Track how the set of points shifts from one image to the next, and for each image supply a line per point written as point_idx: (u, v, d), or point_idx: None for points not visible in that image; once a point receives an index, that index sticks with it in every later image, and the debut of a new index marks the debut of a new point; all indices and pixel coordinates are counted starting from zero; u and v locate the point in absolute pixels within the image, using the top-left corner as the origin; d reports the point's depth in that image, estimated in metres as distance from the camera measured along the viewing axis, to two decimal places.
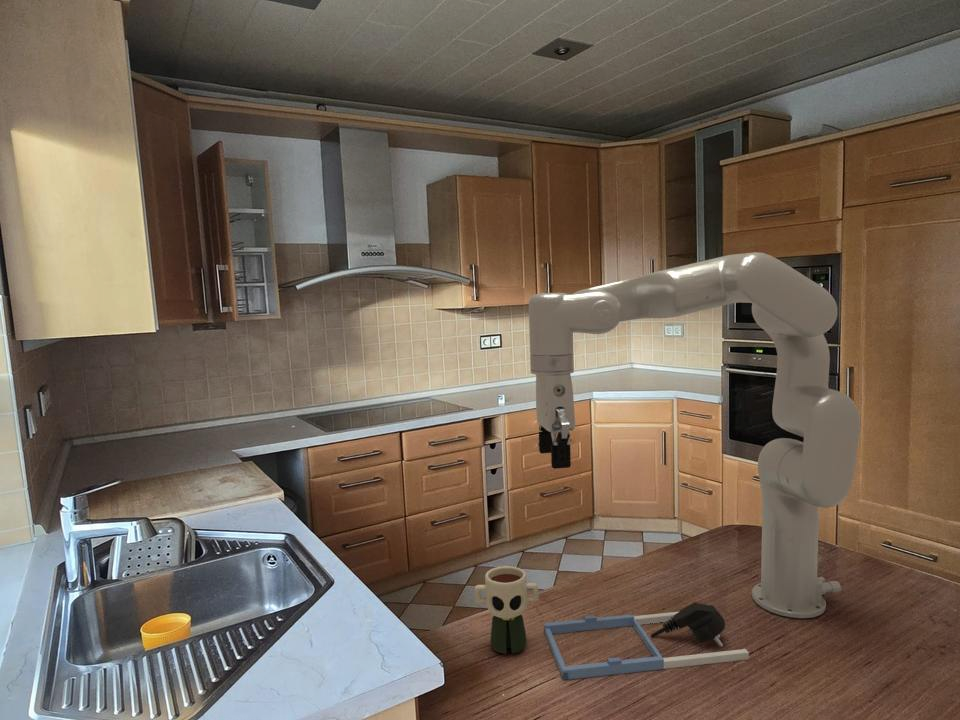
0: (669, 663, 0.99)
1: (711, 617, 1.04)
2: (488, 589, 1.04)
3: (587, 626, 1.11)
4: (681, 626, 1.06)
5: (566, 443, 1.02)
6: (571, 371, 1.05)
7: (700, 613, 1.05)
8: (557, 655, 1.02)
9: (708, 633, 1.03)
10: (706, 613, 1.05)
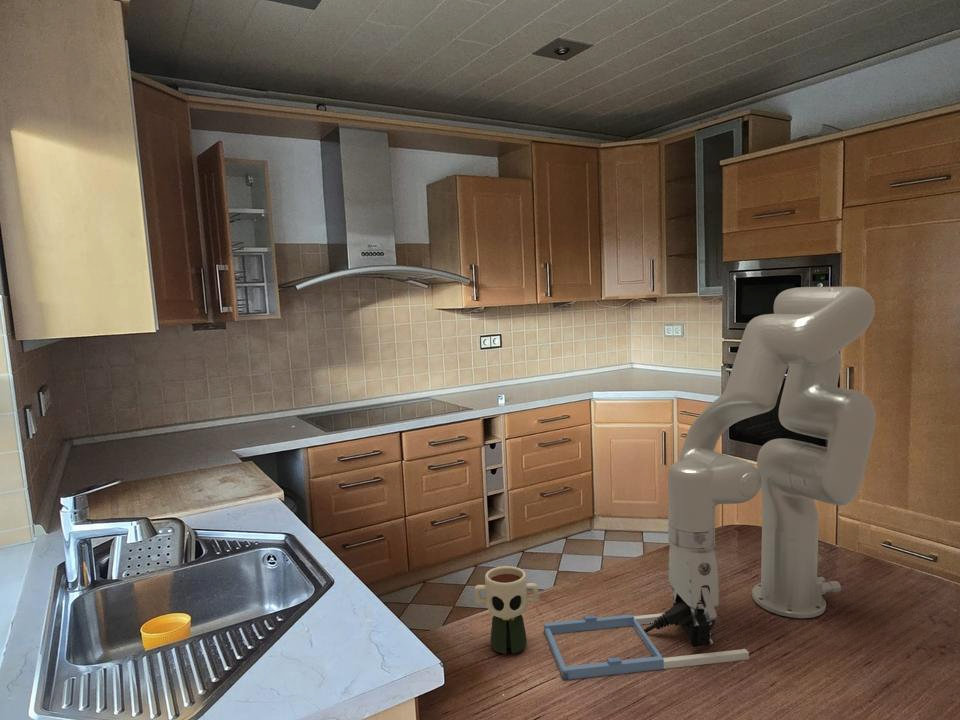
0: (669, 663, 0.99)
1: None
2: (488, 589, 1.04)
3: (587, 626, 1.11)
4: (671, 623, 1.07)
5: (707, 625, 1.02)
6: (714, 545, 1.03)
7: (690, 610, 1.05)
8: (557, 655, 1.02)
9: None
10: None
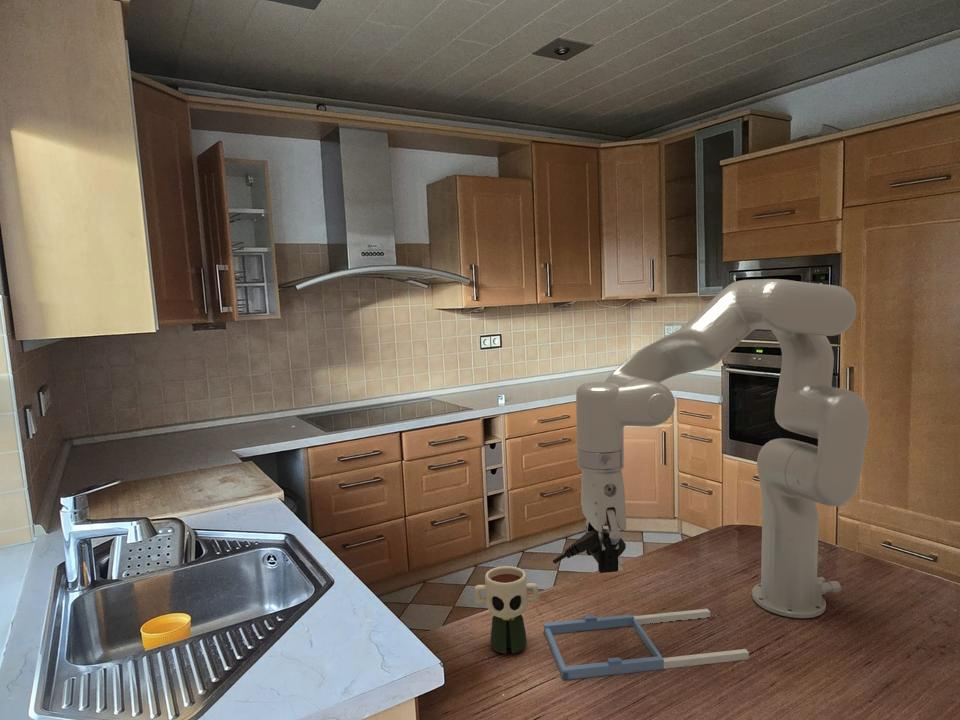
0: (669, 663, 0.99)
1: None
2: (488, 589, 1.04)
3: (587, 626, 1.11)
4: (581, 550, 1.03)
5: (614, 549, 0.98)
6: (622, 467, 0.99)
7: None
8: (557, 655, 1.02)
9: None
10: (606, 536, 1.02)
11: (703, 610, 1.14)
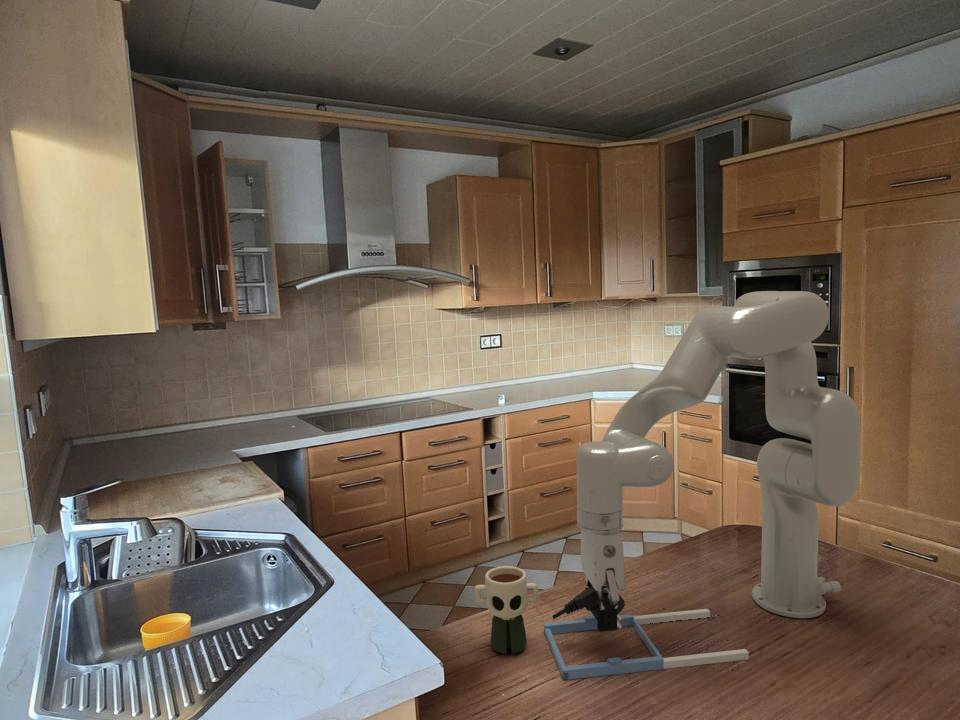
0: (669, 663, 0.99)
1: None
2: (488, 589, 1.04)
3: (587, 626, 1.11)
4: (581, 607, 1.04)
5: (613, 609, 0.99)
6: (621, 527, 1.00)
7: None
8: (557, 655, 1.02)
9: None
10: (605, 594, 1.03)
11: (703, 610, 1.14)
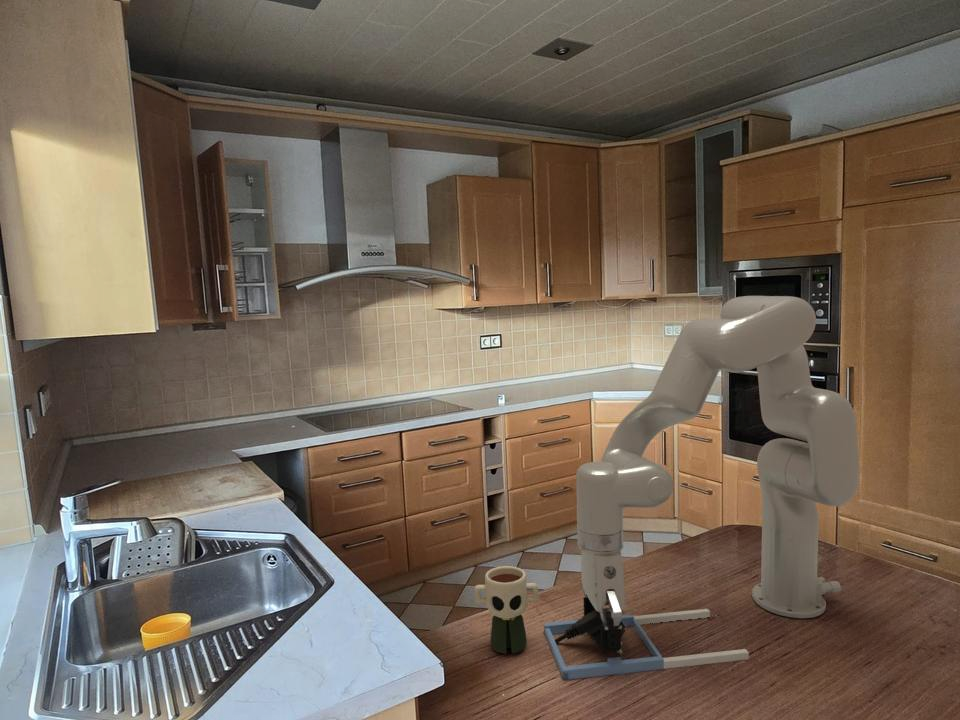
0: (669, 663, 0.99)
1: None
2: (488, 589, 1.04)
3: None
4: (582, 632, 1.05)
5: (617, 628, 0.98)
6: (621, 548, 1.01)
7: (600, 619, 1.04)
8: (557, 655, 1.02)
9: None
10: None
11: (703, 610, 1.14)
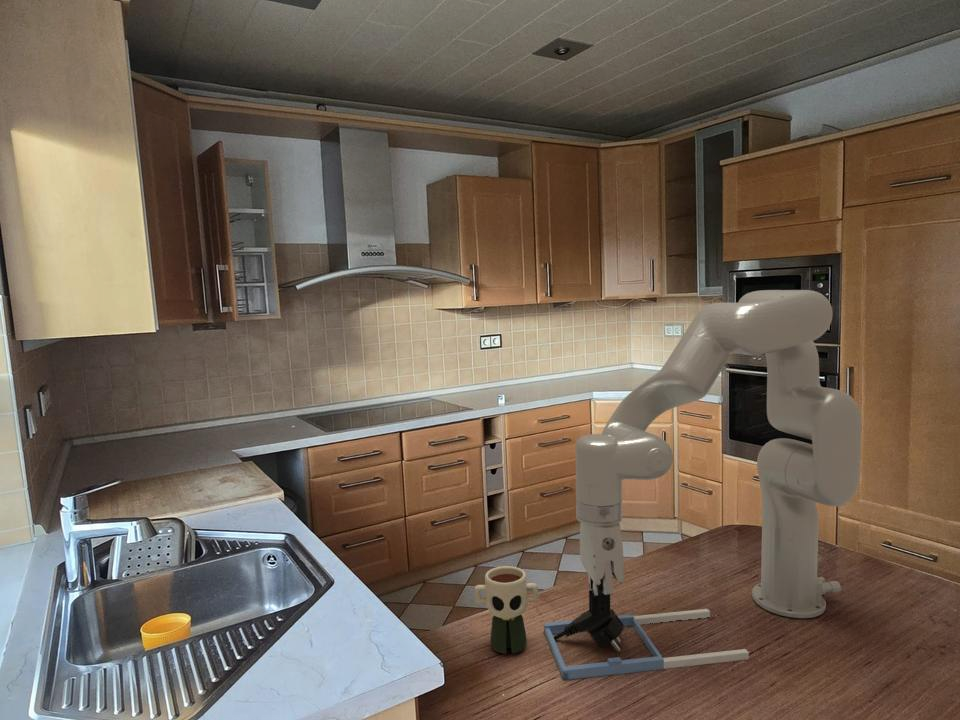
0: (669, 663, 0.99)
1: (608, 622, 1.03)
2: (488, 589, 1.04)
3: None
4: (580, 630, 1.06)
5: (606, 596, 1.02)
6: (620, 520, 1.00)
7: (598, 617, 1.04)
8: (557, 655, 1.02)
9: (604, 638, 1.03)
10: (604, 618, 1.04)
11: (703, 610, 1.14)
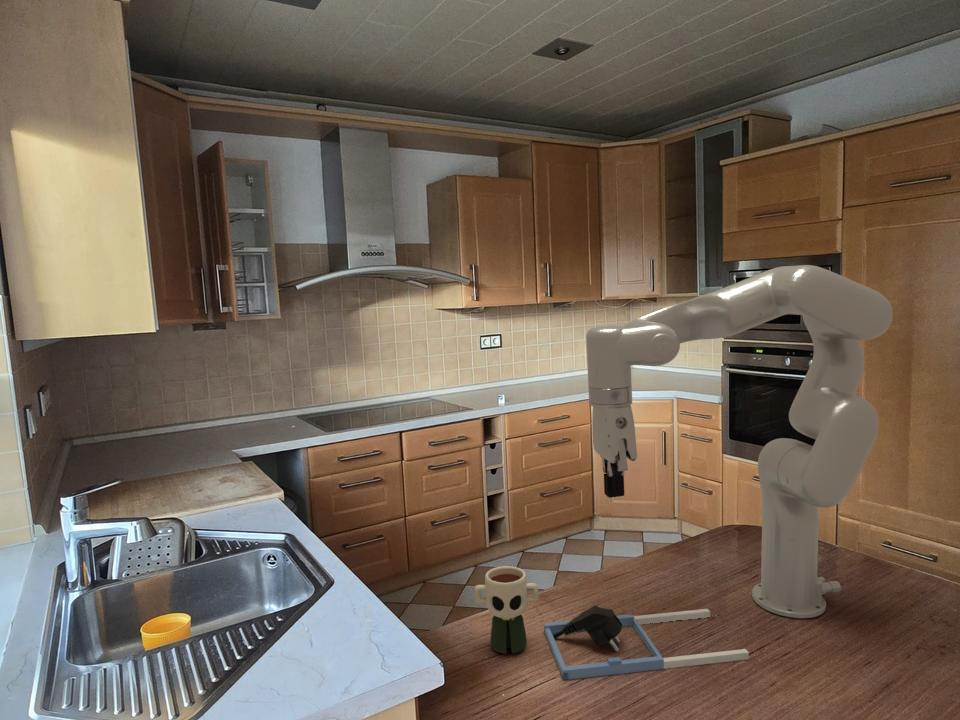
0: (669, 663, 0.99)
1: (606, 621, 1.04)
2: (488, 589, 1.04)
3: None
4: (579, 629, 1.06)
5: (620, 476, 1.09)
6: (630, 402, 1.07)
7: (597, 616, 1.05)
8: (557, 655, 1.02)
9: (602, 637, 1.03)
10: (602, 617, 1.04)
11: (703, 610, 1.14)
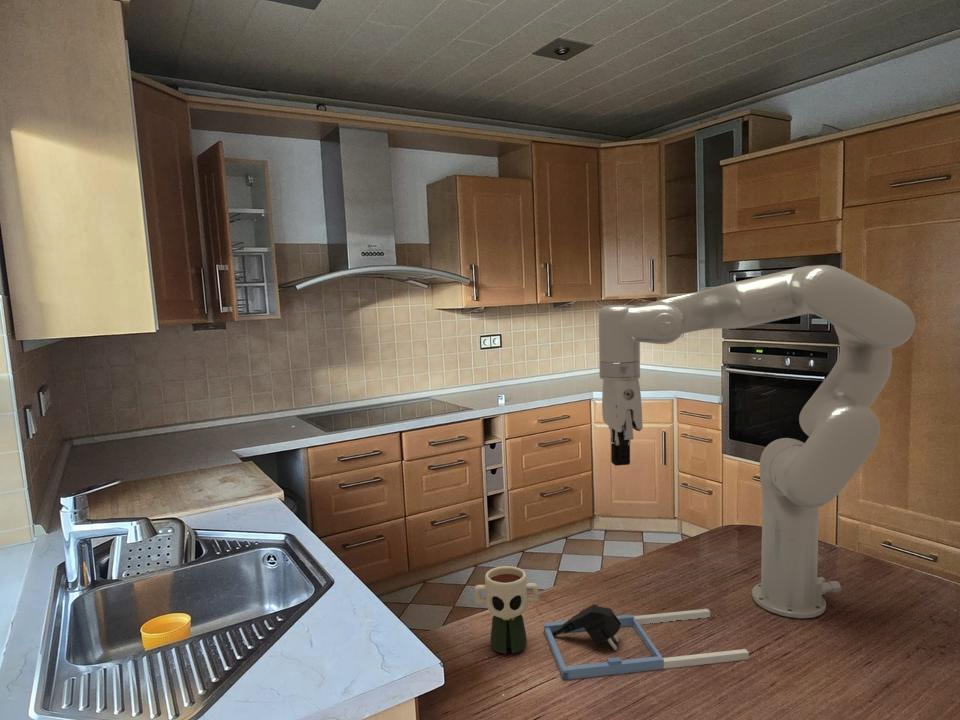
0: (669, 663, 0.99)
1: (605, 620, 1.04)
2: (488, 589, 1.04)
3: None
4: (577, 627, 1.06)
5: (626, 445, 1.17)
6: (638, 377, 1.15)
7: (595, 615, 1.05)
8: (557, 655, 1.02)
9: (600, 636, 1.04)
10: (601, 616, 1.05)
11: (703, 610, 1.14)
